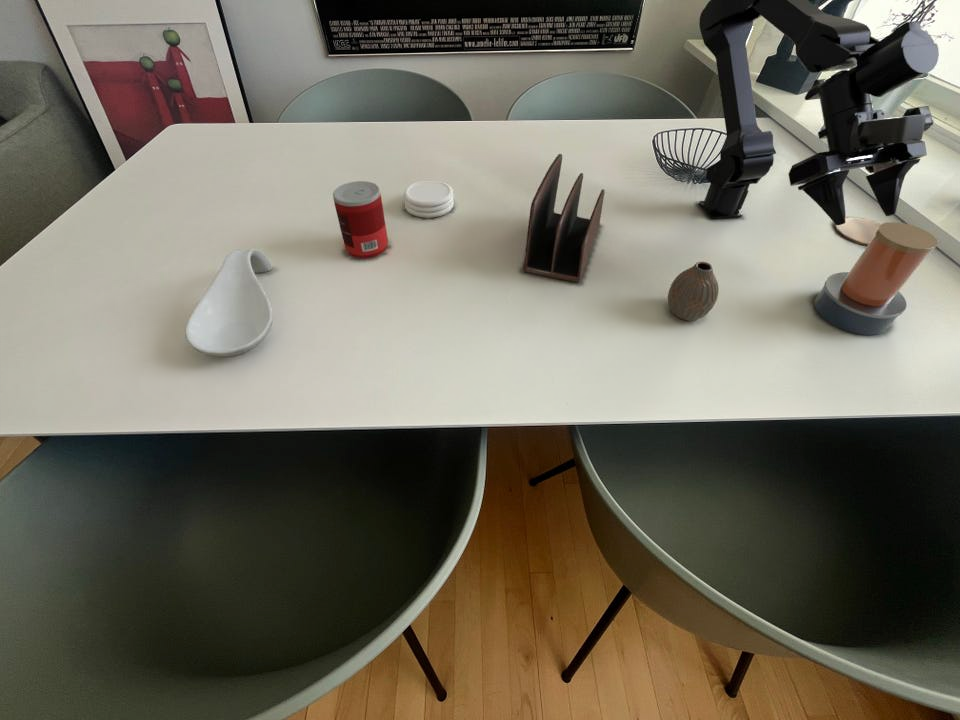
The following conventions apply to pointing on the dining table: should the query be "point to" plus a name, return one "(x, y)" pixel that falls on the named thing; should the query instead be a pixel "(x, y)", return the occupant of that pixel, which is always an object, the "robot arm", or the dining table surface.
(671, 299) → the vase
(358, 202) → the canned food
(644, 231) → the dining table surface
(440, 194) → the coaster
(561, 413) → the dining table surface
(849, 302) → the tin
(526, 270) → the letter holder
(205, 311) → the spoon rest
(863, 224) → the mat
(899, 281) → the canister
